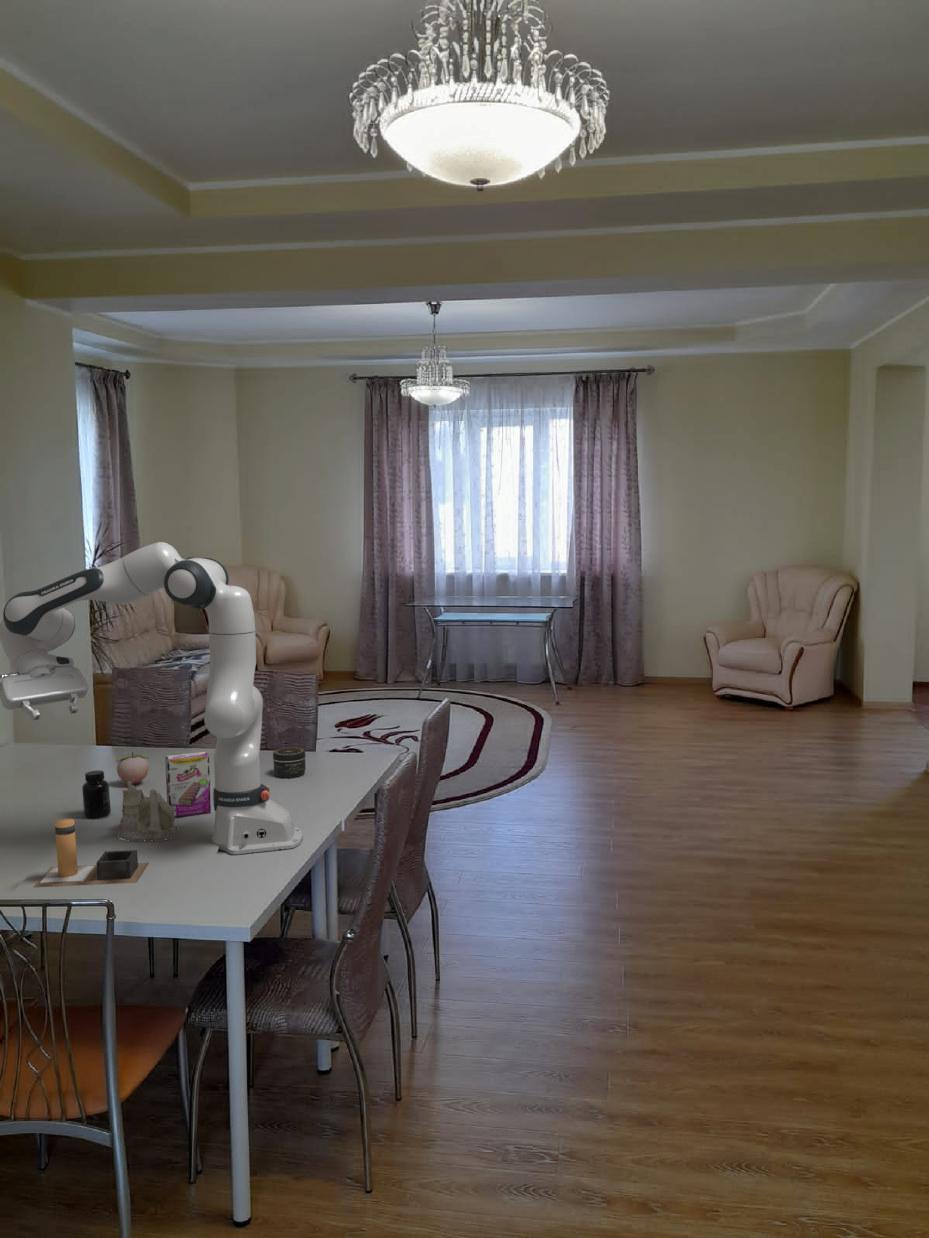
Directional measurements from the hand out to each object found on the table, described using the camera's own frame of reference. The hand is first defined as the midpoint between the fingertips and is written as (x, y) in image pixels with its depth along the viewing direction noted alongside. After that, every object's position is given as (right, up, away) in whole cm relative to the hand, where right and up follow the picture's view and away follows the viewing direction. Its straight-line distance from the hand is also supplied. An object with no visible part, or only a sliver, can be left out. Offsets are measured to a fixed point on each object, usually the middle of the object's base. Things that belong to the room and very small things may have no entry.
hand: (56, 715), depth 233 cm
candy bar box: (+23, -30, +33) cm, 50 cm away
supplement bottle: (-3, -31, +33) cm, 45 cm away
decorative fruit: (-2, -28, +62) cm, 68 cm away
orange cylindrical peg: (+9, -34, -15) cm, 38 cm away
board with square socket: (+14, -36, -14) cm, 41 cm away
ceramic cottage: (+17, -32, +19) cm, 41 cm away
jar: (+43, -26, +71) cm, 87 cm away
